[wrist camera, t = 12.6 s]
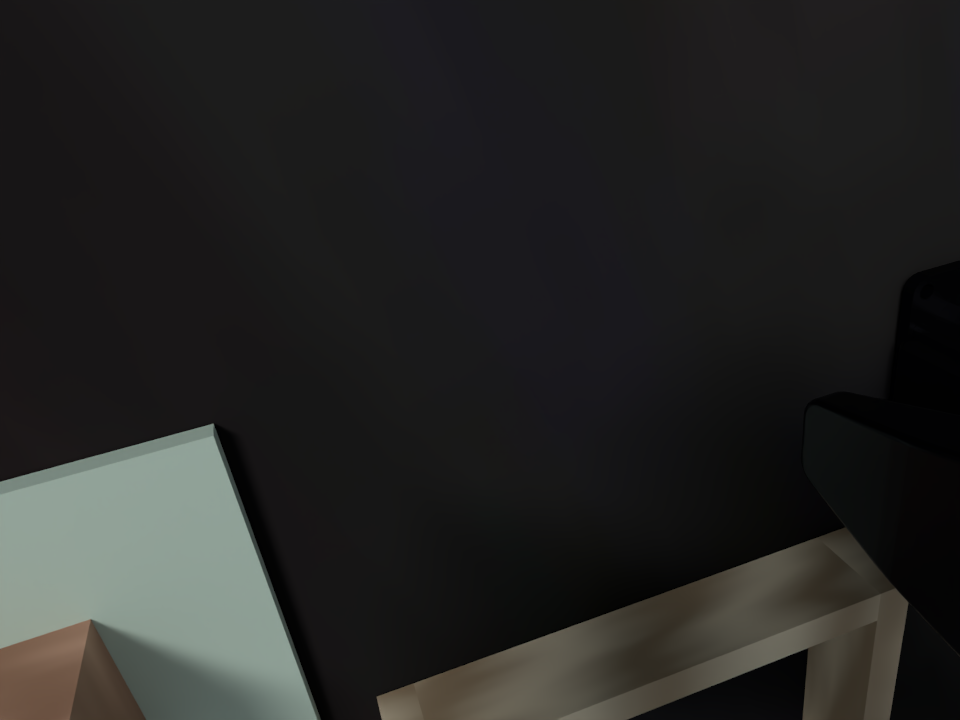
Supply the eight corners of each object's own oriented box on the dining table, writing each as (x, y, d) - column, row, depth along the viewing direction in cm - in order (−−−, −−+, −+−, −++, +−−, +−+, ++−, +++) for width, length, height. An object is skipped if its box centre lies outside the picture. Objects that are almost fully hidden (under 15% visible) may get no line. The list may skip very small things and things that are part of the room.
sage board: (213, 423, 18) (213, 435, 18) (336, 762, 24) (339, 778, 24) (-423, 597, 16) (-445, 617, 15) (-110, 930, 22) (-118, 952, 21)
